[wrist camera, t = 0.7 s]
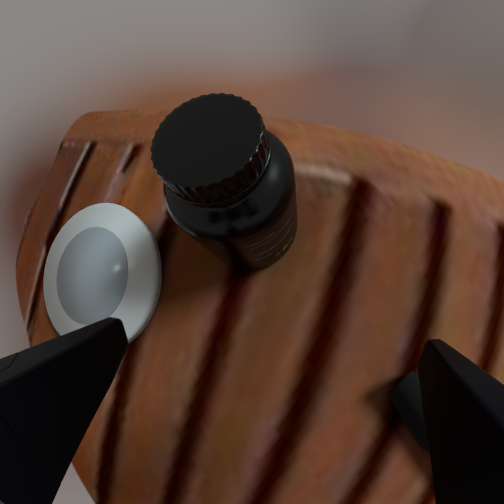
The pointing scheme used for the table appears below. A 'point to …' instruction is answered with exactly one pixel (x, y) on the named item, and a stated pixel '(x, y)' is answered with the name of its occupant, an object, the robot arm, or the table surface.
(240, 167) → the supplement bottle
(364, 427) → the table surface
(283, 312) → the table surface
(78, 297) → the saucer
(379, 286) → the table surface
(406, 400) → the electric trimmer
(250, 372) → the table surface
